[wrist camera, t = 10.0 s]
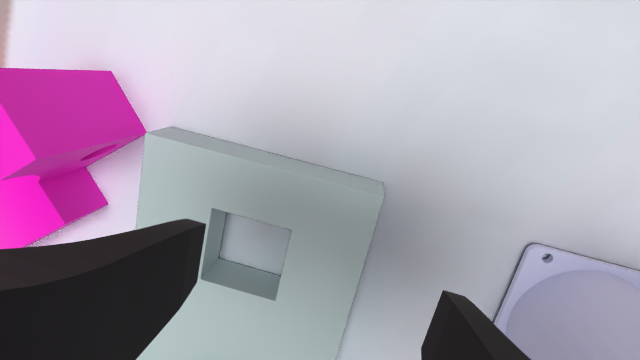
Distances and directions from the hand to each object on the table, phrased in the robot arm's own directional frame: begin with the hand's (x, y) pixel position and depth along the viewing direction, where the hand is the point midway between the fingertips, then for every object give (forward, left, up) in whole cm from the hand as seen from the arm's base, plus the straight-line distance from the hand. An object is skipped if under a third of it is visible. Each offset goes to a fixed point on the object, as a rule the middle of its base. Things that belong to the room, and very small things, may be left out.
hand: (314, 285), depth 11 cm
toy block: (+18, +4, -10) cm, 21 cm away
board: (+4, +9, -10) cm, 14 cm away
